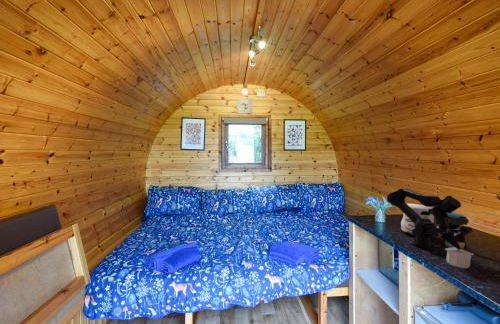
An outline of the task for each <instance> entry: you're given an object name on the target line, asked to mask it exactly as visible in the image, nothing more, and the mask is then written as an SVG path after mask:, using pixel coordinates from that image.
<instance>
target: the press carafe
mask: <svg viewBox="0 0 500 324" xmlns="http://www.w3.org/2000/svg"><path fill="white" fill-rule="evenodd" d="M444 250H445V251H447V252H446V259H445V260H446V263H447V264H449V265H451V266H454V267H458V268H461V269H469V268H470V266H471V259H472V256H474V255H475V253H472V252H469V251H467V250H465V249H461V252H458V249H457V248H456V247H452V248H449V247H448V248H447V247H446V248H444Z"/></svg>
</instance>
